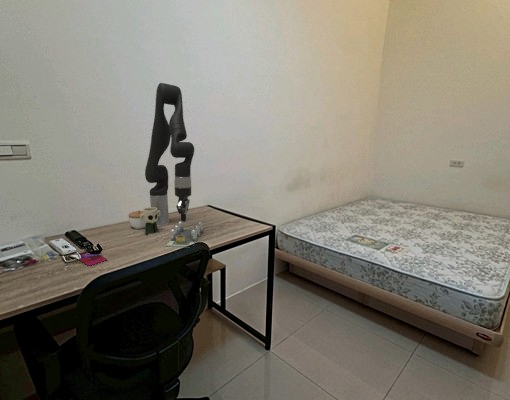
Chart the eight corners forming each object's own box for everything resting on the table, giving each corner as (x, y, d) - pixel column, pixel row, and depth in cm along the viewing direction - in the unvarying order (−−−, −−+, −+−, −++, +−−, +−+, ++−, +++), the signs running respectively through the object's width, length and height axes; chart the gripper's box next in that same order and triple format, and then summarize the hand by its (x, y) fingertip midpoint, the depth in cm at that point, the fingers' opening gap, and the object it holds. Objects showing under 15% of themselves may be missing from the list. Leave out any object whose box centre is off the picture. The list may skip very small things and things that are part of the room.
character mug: (145, 237, 145) (143, 212, 142) (138, 234, 149) (136, 209, 146) (164, 232, 153) (163, 208, 150) (157, 229, 157) (156, 205, 154)
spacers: (169, 241, 138) (169, 229, 137) (179, 230, 152) (178, 220, 151) (196, 241, 138) (195, 230, 136) (203, 231, 152) (203, 221, 151)
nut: (176, 244, 134) (176, 238, 133) (175, 241, 138) (175, 235, 137) (185, 243, 135) (185, 237, 134) (184, 240, 139) (184, 234, 139)
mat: (165, 248, 132) (165, 245, 132) (181, 230, 155) (181, 228, 155) (192, 249, 131) (191, 246, 131) (203, 231, 155) (203, 228, 154)
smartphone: (88, 266, 113) (71, 255, 122) (88, 268, 113) (71, 257, 122) (108, 259, 119) (90, 249, 128) (108, 261, 119) (91, 251, 128)
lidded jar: (127, 226, 161) (125, 209, 159) (146, 223, 168) (145, 207, 165) (132, 231, 153) (131, 214, 151) (153, 228, 159) (152, 211, 157)
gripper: (179, 182, 143) (180, 216, 147) (170, 188, 130) (171, 225, 135) (194, 183, 143) (195, 217, 147) (186, 189, 130) (187, 226, 134)
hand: (183, 221), depth 141 cm, fingers closed
